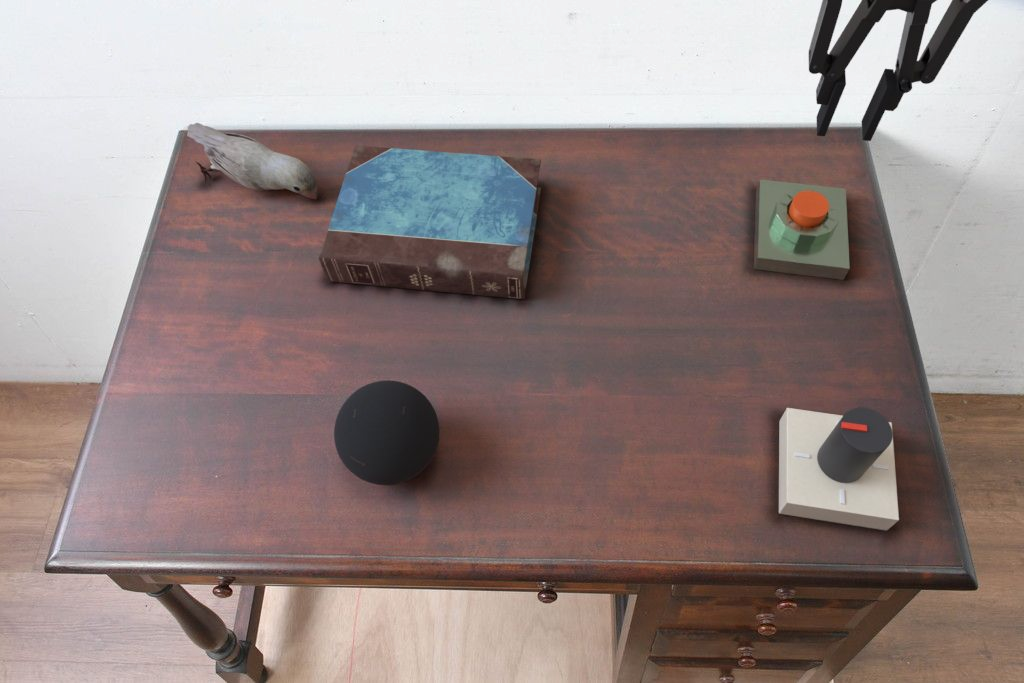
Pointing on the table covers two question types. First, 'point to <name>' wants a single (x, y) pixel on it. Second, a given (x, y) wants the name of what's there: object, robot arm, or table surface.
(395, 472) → the speaker
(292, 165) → the decorative bird
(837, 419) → the knob panel
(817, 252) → the button box
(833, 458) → the knob
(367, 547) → the table surface
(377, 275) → the book
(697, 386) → the table surface
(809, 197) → the button
